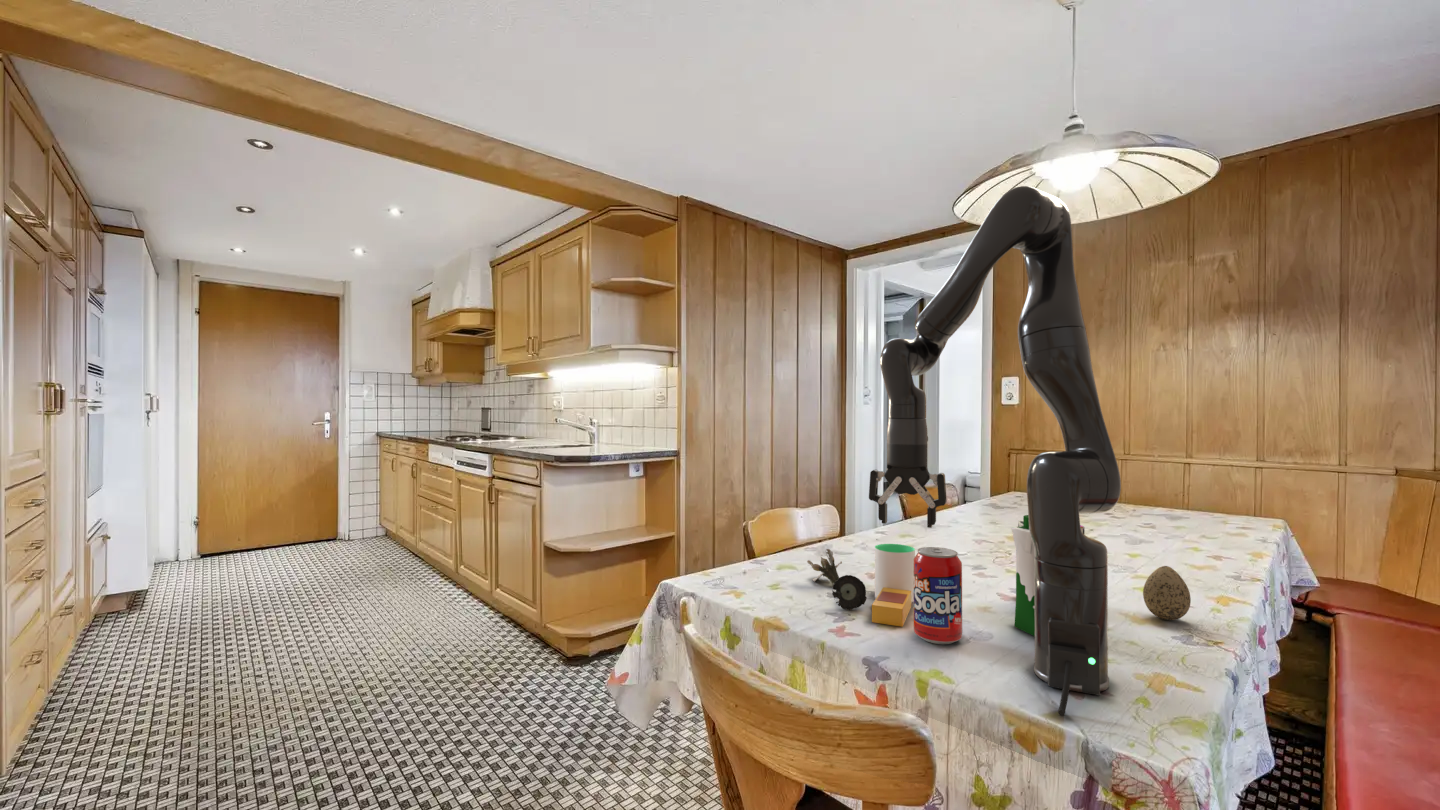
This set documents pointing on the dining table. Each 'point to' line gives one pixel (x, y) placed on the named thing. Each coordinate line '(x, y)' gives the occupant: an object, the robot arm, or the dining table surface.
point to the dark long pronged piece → (841, 584)
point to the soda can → (938, 595)
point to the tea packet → (891, 606)
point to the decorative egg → (1166, 594)
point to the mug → (894, 568)
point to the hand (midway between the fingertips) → (906, 525)
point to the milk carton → (1024, 578)
